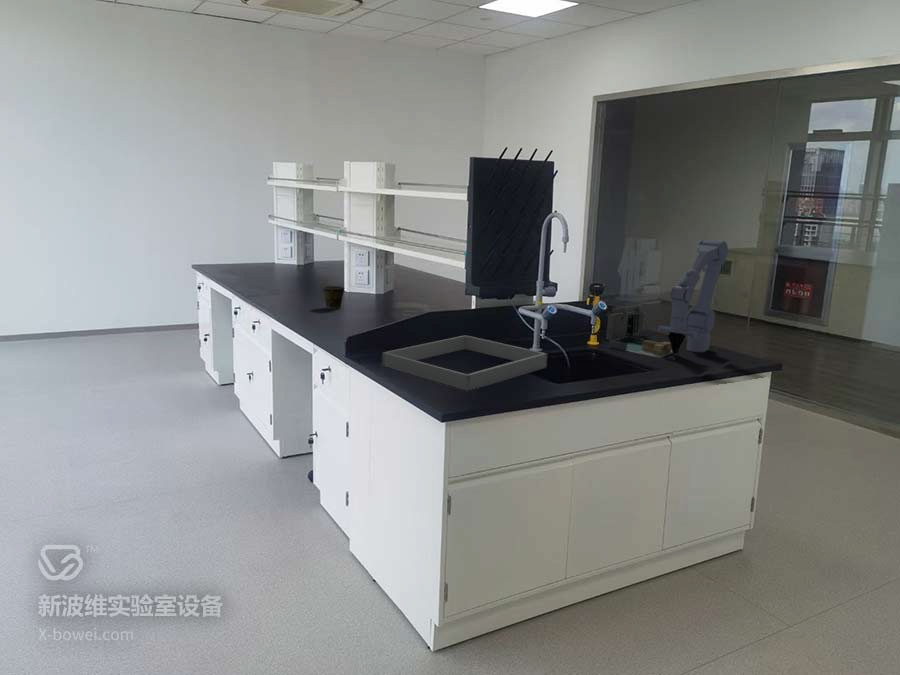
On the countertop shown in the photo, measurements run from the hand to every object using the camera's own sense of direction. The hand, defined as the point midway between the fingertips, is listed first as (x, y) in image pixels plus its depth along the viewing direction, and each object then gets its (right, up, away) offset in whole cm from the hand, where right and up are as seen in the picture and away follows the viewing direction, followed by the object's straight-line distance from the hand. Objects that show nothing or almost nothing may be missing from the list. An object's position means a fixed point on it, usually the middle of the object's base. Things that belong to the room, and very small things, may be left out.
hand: (675, 352), depth 266 cm
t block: (-6, 0, +5) cm, 8 cm away
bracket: (-15, +3, +13) cm, 20 cm away
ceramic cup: (-142, +20, +71) cm, 160 cm away
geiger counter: (-10, +6, +35) cm, 36 cm away
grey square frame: (-80, -4, -25) cm, 84 cm away
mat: (-10, 0, +9) cm, 13 cm away
